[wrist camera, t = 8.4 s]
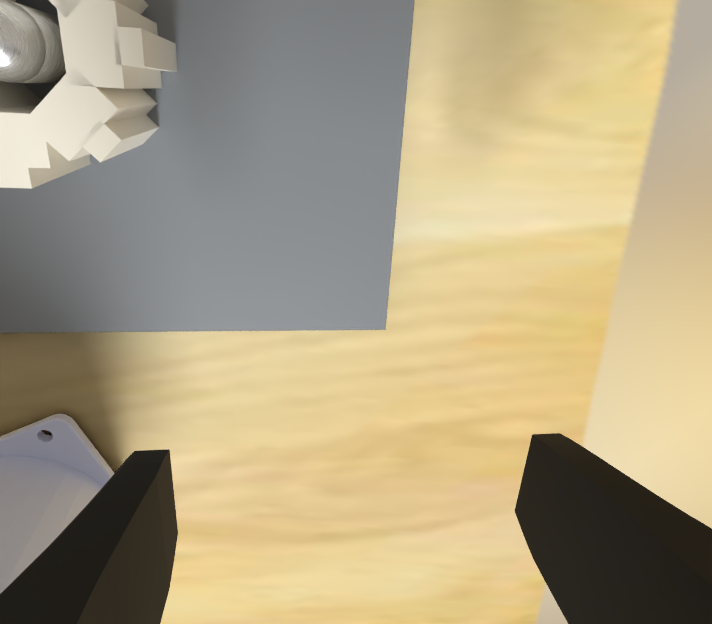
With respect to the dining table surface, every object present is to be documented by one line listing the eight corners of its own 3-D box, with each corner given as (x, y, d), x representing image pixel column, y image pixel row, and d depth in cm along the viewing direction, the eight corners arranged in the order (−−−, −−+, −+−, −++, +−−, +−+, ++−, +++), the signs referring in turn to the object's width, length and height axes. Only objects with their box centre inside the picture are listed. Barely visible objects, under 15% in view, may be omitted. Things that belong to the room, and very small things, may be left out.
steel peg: (51, 93, 14) (-26, 94, 11) (15, 31, 14) (-81, 9, 10) (105, 70, 14) (46, 64, 11) (71, 6, 13) (-4, -23, 10)
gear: (-80, 103, 14) (-206, 109, 10) (-36, -134, 12) (-169, -229, 8) (137, 193, 16) (94, 225, 12) (202, -5, 14) (176, -38, 10)
